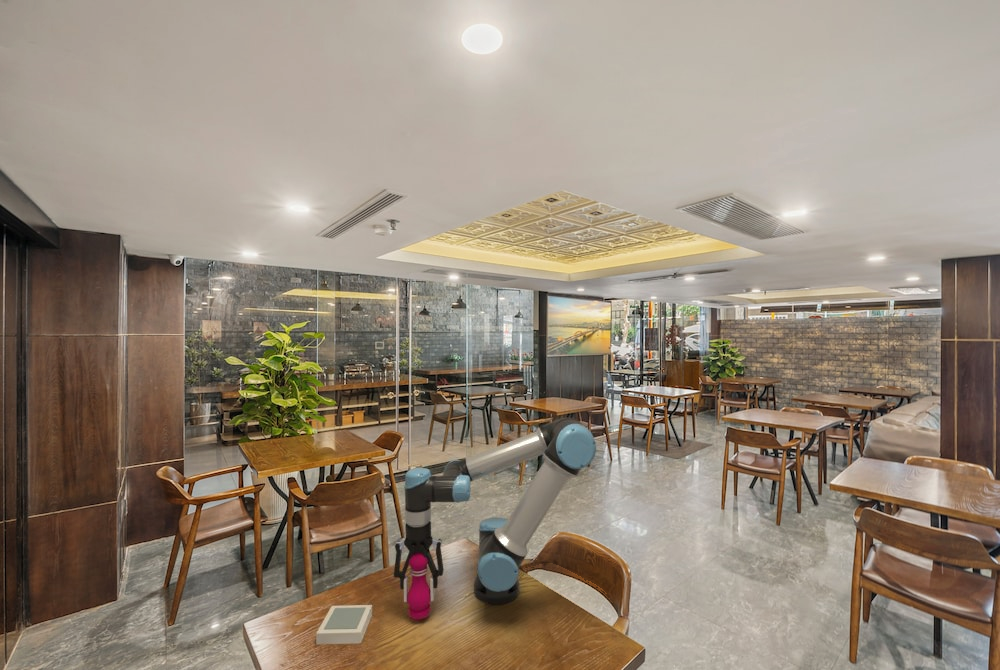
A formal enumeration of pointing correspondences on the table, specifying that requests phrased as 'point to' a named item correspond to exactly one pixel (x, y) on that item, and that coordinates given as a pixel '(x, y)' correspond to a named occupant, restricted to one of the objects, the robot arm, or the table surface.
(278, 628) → the table surface
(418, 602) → the pepper mill
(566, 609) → the table surface
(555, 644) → the table surface
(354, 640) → the base
